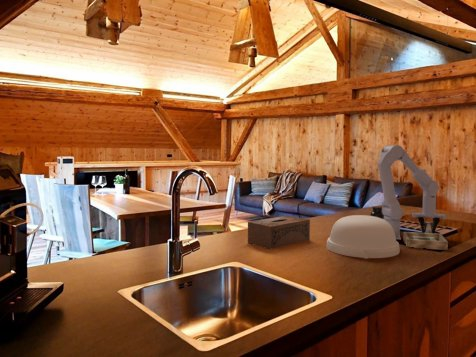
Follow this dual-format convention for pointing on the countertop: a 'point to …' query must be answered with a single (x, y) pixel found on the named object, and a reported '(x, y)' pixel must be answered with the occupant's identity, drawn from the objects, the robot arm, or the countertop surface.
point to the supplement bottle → (377, 212)
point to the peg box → (425, 240)
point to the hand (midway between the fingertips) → (428, 232)
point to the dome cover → (363, 237)
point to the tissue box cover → (278, 231)
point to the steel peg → (428, 227)
